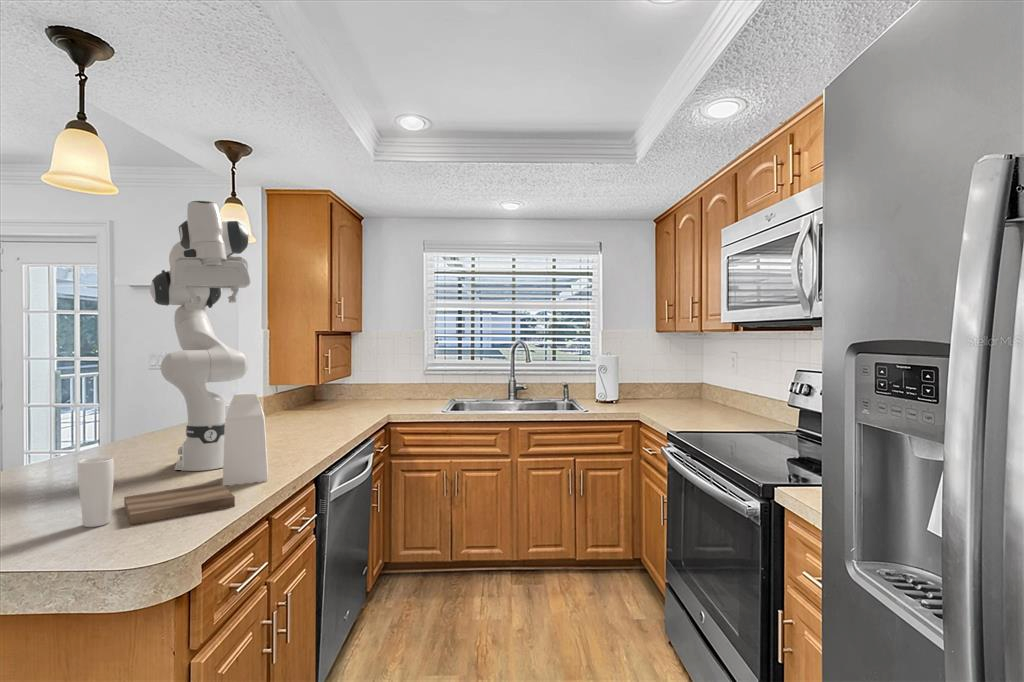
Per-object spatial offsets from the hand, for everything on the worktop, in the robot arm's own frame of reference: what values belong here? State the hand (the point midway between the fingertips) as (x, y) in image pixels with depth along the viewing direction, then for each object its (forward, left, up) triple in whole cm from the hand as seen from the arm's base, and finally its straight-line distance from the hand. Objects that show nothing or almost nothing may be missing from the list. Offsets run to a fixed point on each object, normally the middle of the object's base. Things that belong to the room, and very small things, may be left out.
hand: (215, 302), depth 158 cm
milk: (-4, +9, -53) cm, 54 cm away
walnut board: (+14, -11, -53) cm, 56 cm away
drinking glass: (+17, -28, -53) cm, 63 cm away
